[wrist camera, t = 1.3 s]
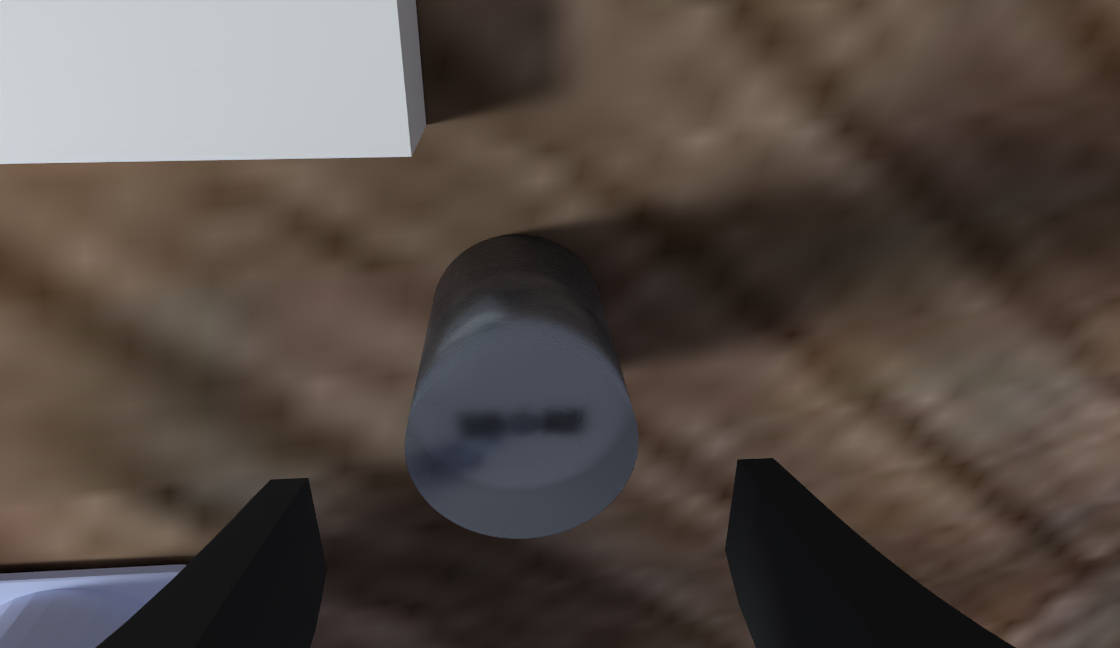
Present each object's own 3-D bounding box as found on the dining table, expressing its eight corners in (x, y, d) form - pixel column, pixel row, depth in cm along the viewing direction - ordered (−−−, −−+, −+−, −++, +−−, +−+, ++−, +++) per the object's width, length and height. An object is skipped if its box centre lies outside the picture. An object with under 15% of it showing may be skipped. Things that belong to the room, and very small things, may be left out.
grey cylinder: (599, 382, 20) (633, 533, 15) (439, 388, 20) (415, 544, 15) (603, 232, 18) (644, 344, 13) (425, 236, 18) (392, 352, 13)
